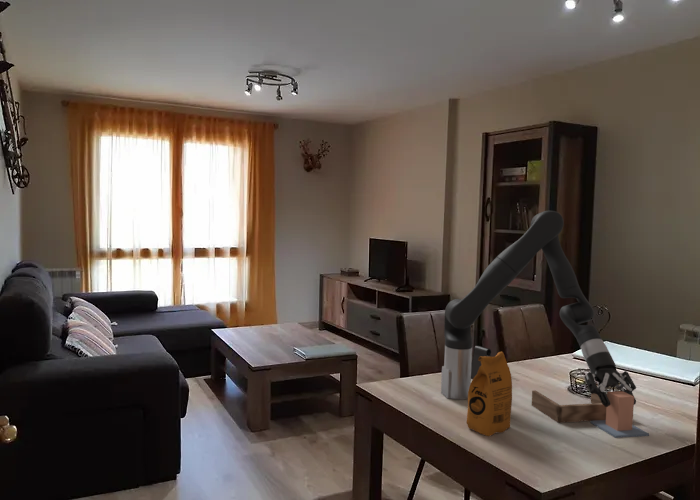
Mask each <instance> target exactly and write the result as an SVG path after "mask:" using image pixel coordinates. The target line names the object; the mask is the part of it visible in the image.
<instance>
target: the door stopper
mask: <svg viewBox="0 0 700 500" xmlns="http://www.w3.org/2000/svg"><path fill="white" fill-rule="evenodd" d="M473 348H474V349H473V356H472V362H471V380H473V379H474V377H475V376H476V375H477V373H478V370H479V367H480V366H481V365H482V364H481V361H479V360H478V358H479V357H480V356H482V357H484V356H487V357H492V349H491V348H488V347H485V346H480V345H475V346H474V347H473Z"/></svg>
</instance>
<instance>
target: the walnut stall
mask: <svg viewBox="0 0 700 500" xmlns="http://www.w3.org/2000/svg"><path fill="white" fill-rule="evenodd" d="M531 406H532V407H533V408H534V409H537V411H539V412H541V413H542V414H544V415H545V416H547V417H548V418H550V419H552V420H553V421H554V422H556V423H558V424H560V423H563V424H564V423H575V422H576V423H577V422H578V423H579V422H590V421H595V420H606V408H607V407H605V406H604V405H603V404H602V402H601V400H600V398H599V396H598V395H597V394H595V393H594V394H592V393H591V392H590V403H574V404H573V403H572V404H559V403H557V402H555V401H554V400H552V399H551V398H549V397H548V396H545V395H544V394H542V393H541V392H539V391H537V390H535V389H534V390H531Z"/></svg>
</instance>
